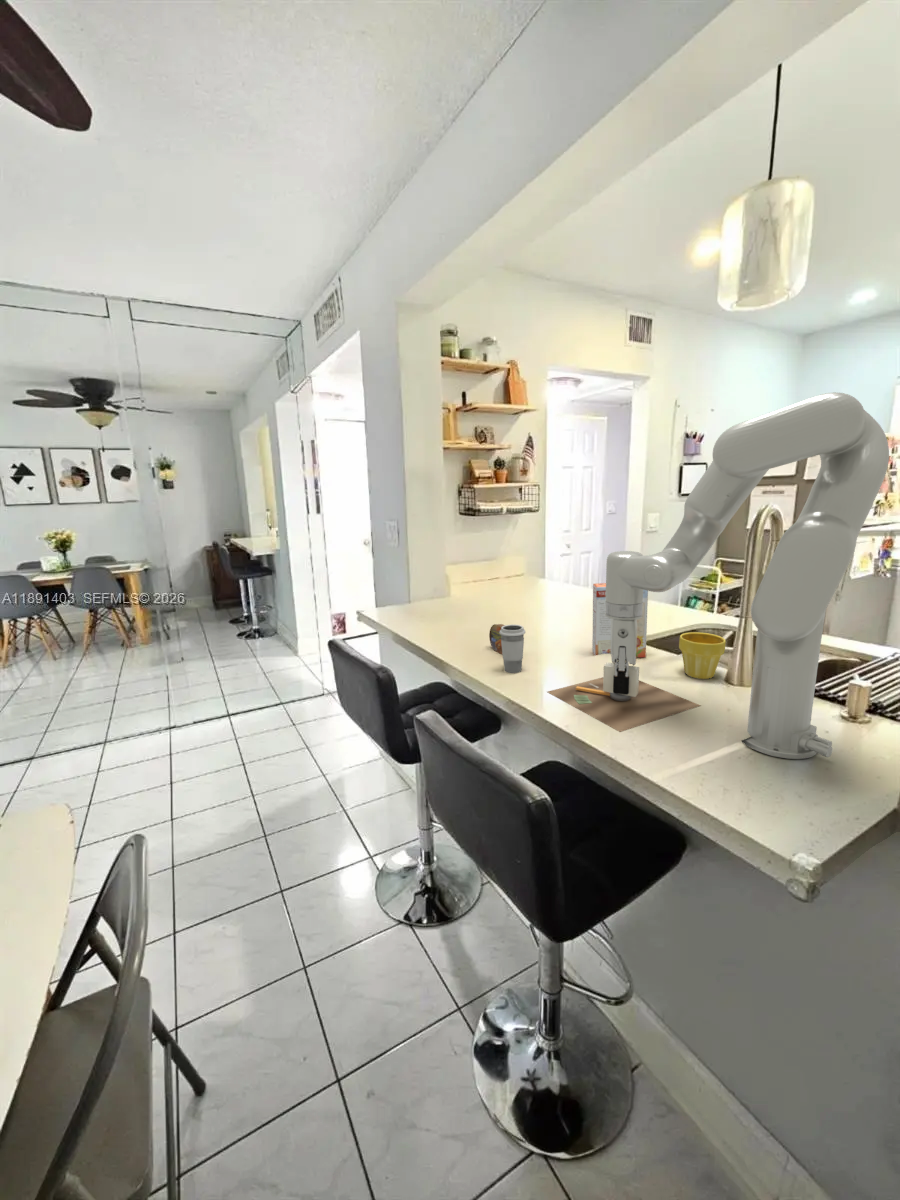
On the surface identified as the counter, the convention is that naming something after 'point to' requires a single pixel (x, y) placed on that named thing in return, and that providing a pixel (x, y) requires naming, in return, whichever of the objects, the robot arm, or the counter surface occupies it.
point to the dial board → (624, 704)
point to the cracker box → (603, 624)
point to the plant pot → (701, 653)
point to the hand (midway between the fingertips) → (620, 689)
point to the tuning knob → (608, 683)
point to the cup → (512, 647)
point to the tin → (496, 637)
